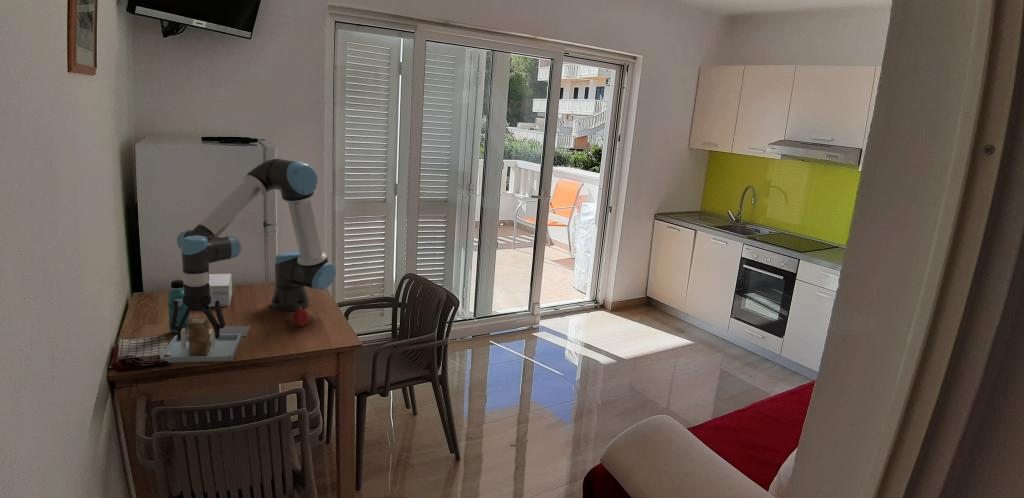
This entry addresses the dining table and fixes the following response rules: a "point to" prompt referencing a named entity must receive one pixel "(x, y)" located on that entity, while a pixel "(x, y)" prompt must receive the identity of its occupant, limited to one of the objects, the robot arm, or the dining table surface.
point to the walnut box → (198, 337)
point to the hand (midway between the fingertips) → (199, 347)
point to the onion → (300, 317)
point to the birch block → (210, 337)
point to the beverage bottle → (172, 297)
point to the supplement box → (220, 288)
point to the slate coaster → (235, 330)
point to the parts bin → (220, 353)
